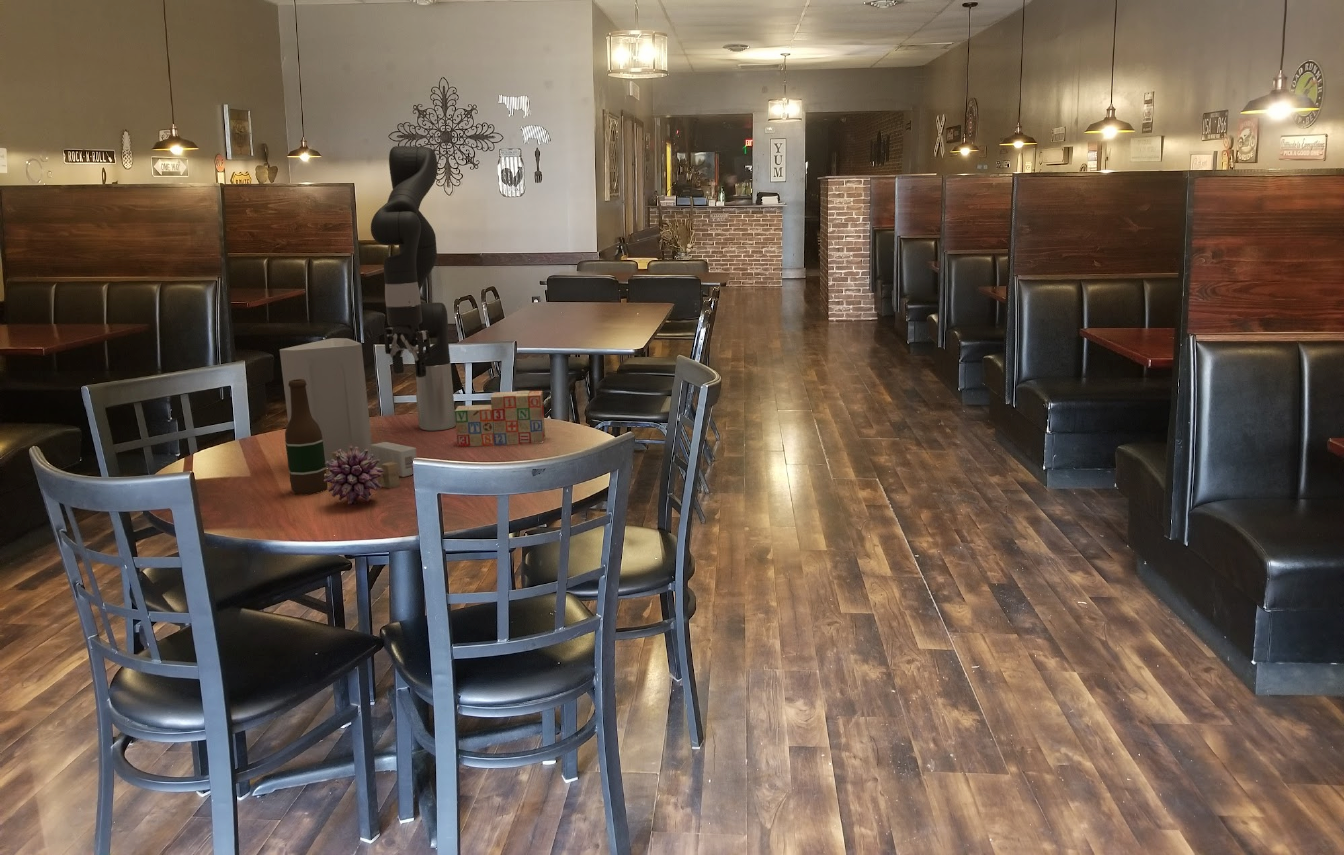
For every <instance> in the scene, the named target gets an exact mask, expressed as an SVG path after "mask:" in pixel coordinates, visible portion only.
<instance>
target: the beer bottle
mask: <svg viewBox="0 0 1344 855" xmlns="http://www.w3.org/2000/svg"><path fill="white" fill-rule="evenodd" d="M306 385H307V384H306V381H305V380H304V379H295V380H291V381H289V384H288V386H289V387H290V395H291V419H290V421H289V423H287V425H286V428H285V432H284V439H285V440H284V442H285V443H284V444H285V448H286V458H287V466H288V474H289V484H290V488H291V491H292V493H293V494H294V495H299V494H308V495H314V494H313V493H315V494H318V493H317V492H320V493H322V492H324V491H327V490H328V489H329V488H328V486H329V485H328V482H324V480H325V479H327V478H325V476H324V474H327V473H328V472H327V469H326V465H325V455H324V446H323V438H322V433H321V430H320V428H319V426H318V424H317V423H316V421H315V420H314V419H313V418H312V416H311V413H310V409H309V403H308V398H307V392H306ZM323 490H324V491H323ZM321 491H322V492H321Z"/></svg>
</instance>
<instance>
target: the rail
mask: <svg viewBox="0 0 1344 855" xmlns="http://www.w3.org/2000/svg"><path fill="white" fill-rule="evenodd" d="M343 452H344V453H346V454H347V452H346V451H343ZM336 454H338V452H333V453H332V457H333V459H334V460H337V457H336ZM374 468H377V469H383V472H382V476H379V477H377V478H376V479H375V480H376V481H378V483H379V484H380V485H382V487H383V488H387V489H394V488H397V487H400V486H401V484H400V476H399V473H398V463H394V462H389V463H385V464H382V468H378V467H374ZM382 487H381V488H382Z"/></svg>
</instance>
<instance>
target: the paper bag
mask: <svg viewBox="0 0 1344 855" xmlns="http://www.w3.org/2000/svg"><path fill="white" fill-rule="evenodd" d="M279 357H280V364H281V374H282V382H283V389H284V398H285V407H286V415H287V422H288V423H289V421H290V419H291V395H290V387H289V386H288V384H289V381H291V380H295V379H304V380H305V381H306V384H307V385H306V392H307V398H308V403H309V409H310V413H311V416H312V418H313V419H314V420H315V421H316V423H317V424H318V426H319V428H320V430H321V433H322V438H323V446H324V455H325V463H326V461H328V462H332V461H331V460H332V459H333V457H332V453H333V452H337V451H338V450H339V449H341V450H342V451H346V452H347V454H348V452H349V449H350V447H353V450H355V448H356V447H359V453H360V454H361V453H363V452H364V451H365V449H367V450H368V453H367V456H369V455H371V445H372V444H373V443H372V442H373V441H372V432H371V423H370V415H369V405H368V396H367V394H368V393H367V384H366V374H365V367H364V366H365V364H364V356H363V346H362V343H361V342H358V341H356V340H354V339H350V338H346V337H345V338H344V337H343V338H342V337H339V338H338V337H336V338H335V337H333V338H332V337H331V338H327V339H322V340H319V341H314V342H309V343H303V344H299V345H295V346H291V347H285V348H281V349H279ZM288 423H287V424H288ZM326 468H329V467H328V466H327V465H326Z"/></svg>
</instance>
